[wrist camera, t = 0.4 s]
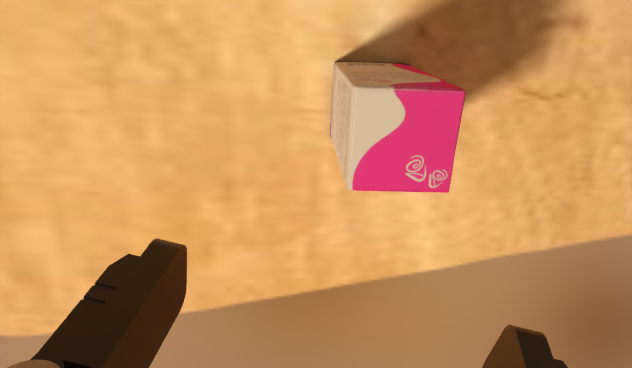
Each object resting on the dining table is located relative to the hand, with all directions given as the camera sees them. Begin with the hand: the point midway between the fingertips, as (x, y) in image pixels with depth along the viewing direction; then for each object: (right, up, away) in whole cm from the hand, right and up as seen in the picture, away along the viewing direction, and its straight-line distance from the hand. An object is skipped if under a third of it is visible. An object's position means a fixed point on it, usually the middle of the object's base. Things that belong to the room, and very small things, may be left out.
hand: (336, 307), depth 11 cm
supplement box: (+3, +9, +23) cm, 25 cm away
